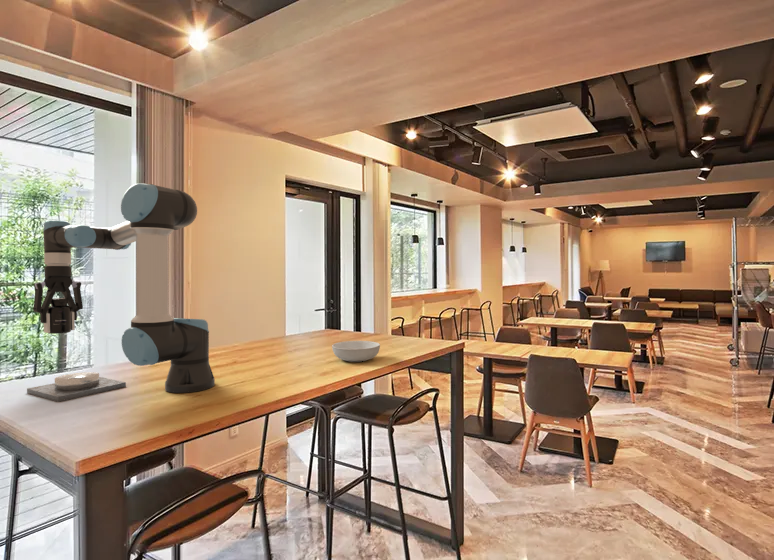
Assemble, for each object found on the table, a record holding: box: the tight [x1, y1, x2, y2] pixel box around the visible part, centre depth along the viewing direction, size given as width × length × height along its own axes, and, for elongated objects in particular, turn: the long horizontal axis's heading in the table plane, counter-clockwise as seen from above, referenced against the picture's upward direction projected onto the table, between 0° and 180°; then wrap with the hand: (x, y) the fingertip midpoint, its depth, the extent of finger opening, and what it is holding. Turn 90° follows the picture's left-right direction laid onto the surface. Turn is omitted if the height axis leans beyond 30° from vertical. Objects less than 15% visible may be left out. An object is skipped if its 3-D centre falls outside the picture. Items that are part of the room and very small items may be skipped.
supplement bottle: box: [47, 297, 72, 335], centre depth 155 cm, size 7×7×12 cm
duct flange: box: [26, 371, 127, 403], centre depth 146 cm, size 20×20×4 cm
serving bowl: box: [331, 340, 381, 363], centre depth 193 cm, size 21×21×7 cm
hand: (59, 331), depth 155 cm, fingers closed on supplement bottle, 7 cm apart
